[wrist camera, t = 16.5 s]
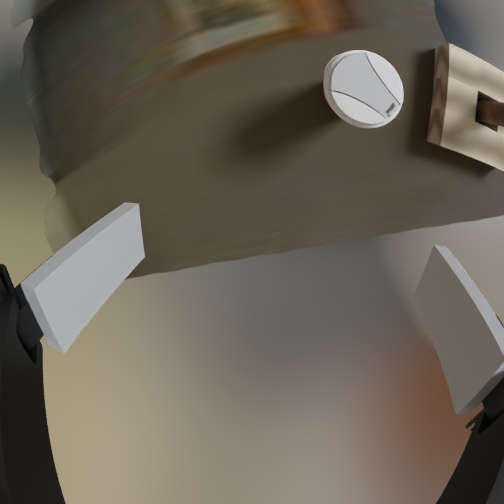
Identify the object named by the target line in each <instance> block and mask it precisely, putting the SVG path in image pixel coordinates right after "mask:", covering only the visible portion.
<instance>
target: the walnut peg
mask: <svg viewBox="0 0 504 504" xmlns="http://www.w3.org/2000/svg"><path fill="white" fill-rule="evenodd" d="M475 121H480V122H485V123H490V124H494V125H498V126H502V127H504V103H503V102H494V101H484V100H477V106H476V115H475Z"/></svg>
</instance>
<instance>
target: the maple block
mask: <svg viewBox="0 0 504 504" xmlns="http://www.w3.org/2000/svg"><path fill="white" fill-rule="evenodd" d="M477 98H479V99H481V100H484V101H494V102H503V103H504V72H502V71H500V70H499V69H497V68H495V67H494V66H492V65H491V64H489V63H487V62H485V61H483V60H482V59H480V58H478V57H476V56H474V55H472V54H471V53H469V52H467V51H465V50H463V49H461V48H458V47H456V46H454V45H452V44H450V43H449V44H446V45H443V46H440V47H437V48H435V68H434V83H433V95H432V104H431V113H430V120H429V127H428V134H427V140H426V141H428V142H431V143H433V144H436V145H439V146H442V147H445V148H448V149H450V150H453V151H456V152H459V153H461V154H464V155H467V156H469V157H472V158H474V159H477V160H479V161H482V162H484V163H486V164H489V165H491V166H493V167H496V168H498V169H500V170H502V171H504V127H502V126H498V125H494V124H490V123H485V122H481V124H479V123H477V122H475V115H476V106H477Z"/></svg>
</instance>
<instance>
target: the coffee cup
mask: <svg viewBox="0 0 504 504" xmlns="http://www.w3.org/2000/svg"><path fill="white" fill-rule="evenodd" d="M323 86H324V97H325V100H326V102H327V104H328V105H329V107H330V108H331V109H333V111H334V112H335V113H336V114H337V115H338V116H339V117H340V118H342V119H343V120H344V121H346V122H348V123H350V124H352V125H354V126H357V127H362V128H376V127H380V126H383V125H385V124H387V123H389V122H390V121H391V120H393V119H394V118H395V117H396V115H397V114H398V113H399V111H400V109H401V106H402V103H403V86H402V82H401V79H400V77H399V75H398V73H397V72H396V70H395V69H394V68H393V66H392V65H391V64H390V63H389V62H388V61H386V60H385V59H384V58H382V57H381V56H379V55H377V54H375V53H372V52H369V51H364V50H352V51H348V52H345V53H342V54H340V55H337V56H335V57H333V58H332V59H331V60H330V62H329V63H328V64H327V66H326V68H325V70H324V81H323Z"/></svg>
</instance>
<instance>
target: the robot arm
mask: <svg viewBox="0 0 504 504" xmlns="http://www.w3.org/2000/svg"><path fill="white" fill-rule="evenodd" d="M144 257H145V255H144V247H143V239H142V231H141V222H140V212H139V204H136V203H124V204H122V205H121V206H119V207H118V208H116V209H115V210H113V211H112V212H110V213H109V214H107V215H106V216H105V217H103V218H102V219H100V220H99V221H97V222H96V223H95V224H93V225H92V226H91V227H89V228H88V229H86V230H85V231H84V232H82V233H81V234H80V235H78V236H77V237H76V238H74V239H73V240H72V241H71V242H69V243H68V244H67V245H65V246H64V247H63V248H62V249H60V250H59V251H58V252H57V253H55V254H54V255H52V256H51V257H50V258H49V259H48V260H46V262H44V263H43V264H41V265H40V266H39V267H38V268H37V269H36V270H34V271H33V272H32V273H31V274H30V275H29V276H28V277H26V278H25V279H24V280H23V281H22V282H21V283H20V284H19V285H18V286H16V288H14V286H13V284H12V282H11V279H10V276H9V273H8V271H7V268H6V266H5V265H3V264H0V504H65V500H64V497H63V494H62V491H61V487H60V484H59V481H58V476H57V472H56V468H55V464H54V459H53V455H52V450H51V444H50V439H49V432H48V425H47V418H46V409H45V400H44V386H43V357H42V356H43V355H42V354H43V353H42V352H43V349H42V344H41V342H40V339H41V338H42V336H43V335H44V336H45V338H46V340H47V342H48V344H49V346H50V347H51V348H53V349H55V350H57V351H60V352H61V353H63V354H64V353H65V352H66V351H67V350H68V348H69V347H70V346H71V344H72V343H73V342H74V340H75V339H76V338H77V337H78V335H79V334H80V333H81V331H82V330H83V329H84V328H85V326H86V325H87V324H88V323H89V321H90V320H91V319H92V318H93V316H94V315H95V314H96V313H97V311H98V310H99V309H100V308H101V307H102V305H103V304H104V303H105V302H106V300H107V299H108V298H109V297H110V295H112V293H113V292H114V291H115V290H116V289H117V287H118V286H119V285H120V284H121V283H122V282H123V281H124V280H125V278H126V277H127V276H128V275H129V274H130V273H131V272H132V270H133V269H134V268H135V267H136V266H137V265H138V264H139V263H140V262H141V260H142V259H143V258H144ZM414 297H415V299H416V302H417V304H418V306H419V309H420V311H421V313H422V316H423V318H424V320H425V323H426V325H427V328H428V330H429V333H430V336H431V338H432V341H433V343H434V346H435V349H436V351H437V354H438V357H439V360H440V363H441V366H442V369H443V371H444V375H445V378H446V381H447V384H448V387H449V390H450V394H451V397H452V401H453V405H454V408H455V412H456V415H457V414H463V413H469V412H472V411H473V410H474V409H475V408H476V407H477V406H478V405H479V404H480V403H481V402H482V403H483V406H484V409H483V410H482V411H480V412H479V413H478V414H477V416H475V417H474V418H473V419H472V420H471V421H470V422H469V423H468V424H467V425H466V428H468V427H469V426H471V425H472V424H473V423H475V425H474V427H473V428H472V429H471V431H472V433H471V435H470V438H469V440H468V443H467V445H466V447H465V450H464V452H463V454H462V456H461V458H460V461H459V463H458V465H457V467H456V469H455V471H454V473H453V475H452V477H451V478H450V480H449V482H448V484H447V486H446V488H445V489H444V491H443V493H442V495H441V497H440V498H439V500H438V501H437V503H436V504H504V326H503V324H502V323H501V321H500V319H499V318H498V317H497V315H496V314H495V313H494V312H493V310H492V309H491V307H490V305H489V304H488V302H487V301H486V299H485V298H484V296H483V295H482V293H481V292H480V291H479V289H478V288H477V286H476V285H475V283H474V282H473V281H472V279H471V278H470V276H469V275H468V274H467V273H466V271H465V270H464V268H463V267H462V266H461V264H460V263H459V262H458V260H457V259H456V258H455V257H454V256H453V254H452V253H451V252H450V250H449V249H448V248H447V247H443V246H438V245H434V246H433V248H432V251H431V254H430V257H429V259H428V262H427V264H426V267H425V270H424V272H423V275H422V277H421V279H420V282H419V284H418V287H417V289H416V291H415V293H414Z"/></svg>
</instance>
